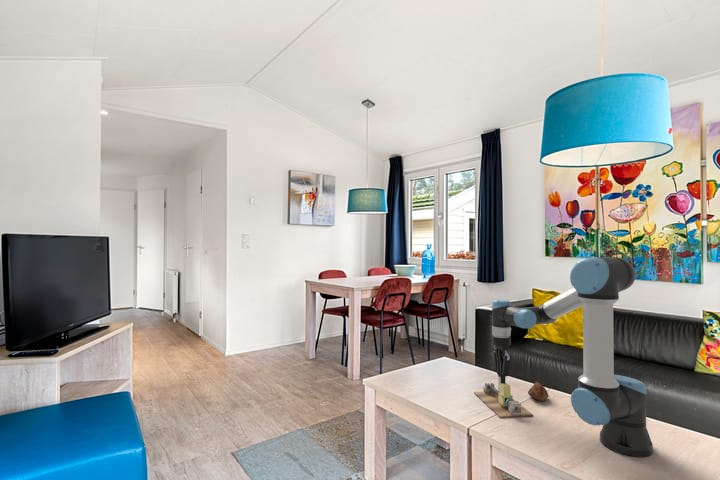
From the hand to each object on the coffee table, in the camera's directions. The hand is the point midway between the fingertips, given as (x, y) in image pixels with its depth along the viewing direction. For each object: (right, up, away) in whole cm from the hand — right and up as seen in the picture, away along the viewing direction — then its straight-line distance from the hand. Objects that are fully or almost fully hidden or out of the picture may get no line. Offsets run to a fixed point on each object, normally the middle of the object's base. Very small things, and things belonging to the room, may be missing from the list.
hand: (501, 390), depth 170 cm
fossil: (+18, -6, +6) cm, 20 cm away
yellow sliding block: (0, -4, -3) cm, 6 cm away
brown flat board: (0, -6, 0) cm, 6 cm away
